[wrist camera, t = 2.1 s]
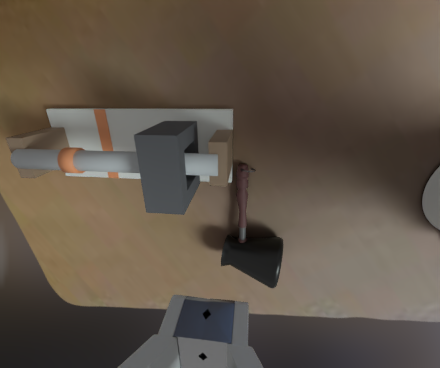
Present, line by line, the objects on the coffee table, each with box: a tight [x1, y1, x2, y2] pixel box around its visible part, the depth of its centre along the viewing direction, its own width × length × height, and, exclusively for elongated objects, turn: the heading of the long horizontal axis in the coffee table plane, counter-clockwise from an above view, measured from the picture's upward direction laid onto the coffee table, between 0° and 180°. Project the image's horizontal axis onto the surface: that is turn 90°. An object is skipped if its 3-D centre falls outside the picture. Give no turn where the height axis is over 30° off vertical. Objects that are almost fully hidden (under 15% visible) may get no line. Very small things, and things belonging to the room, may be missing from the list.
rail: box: [6, 108, 233, 186], centre depth 29 cm, size 26×10×10 cm, turn 91°
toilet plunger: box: [221, 164, 283, 288], centre depth 34 cm, size 8×18×8 cm
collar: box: [134, 121, 200, 215], centre depth 26 cm, size 4×8×8 cm, turn 1°
